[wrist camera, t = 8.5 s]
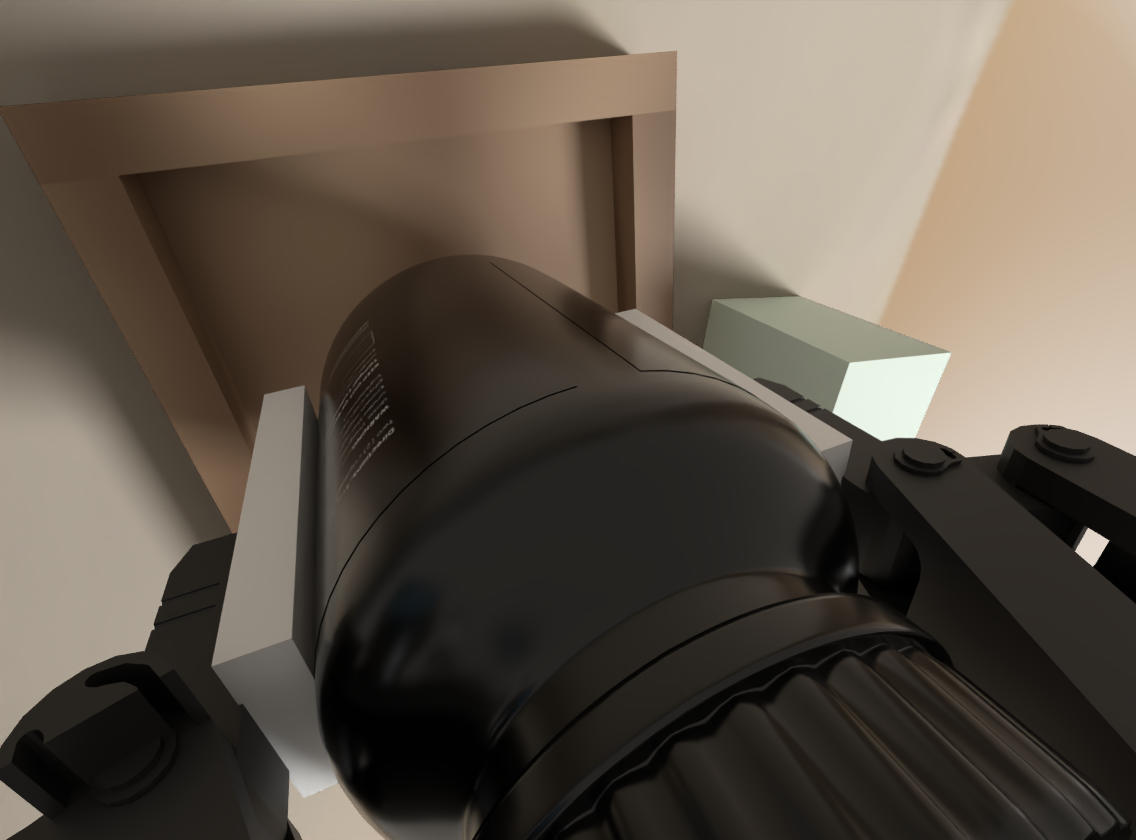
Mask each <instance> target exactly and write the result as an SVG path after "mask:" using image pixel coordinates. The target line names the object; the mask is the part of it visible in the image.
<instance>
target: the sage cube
mask: <svg viewBox="0 0 1136 840" xmlns="http://www.w3.org/2000/svg"><path fill="white" fill-rule="evenodd" d="M702 349H703V350H705V351H706V352H708V353H710V354H711V355H713V356H715V357H716V358H718V359H720V360H721V361H723V362H725V363H726V364H728V365H730V366H731V367H733V368H735V369H736V370H738V371H740V372H741V373H743V374H744V375H746V376H748V377H749V378H751V379H755V378H762V379H766V380H769V381H772V382H776V383H779V384H783V385H785V386H787V387H789V388H790V389H792V390H794V391H796V392H797V393H799V394H801V395H802V396H804V398H805V400H806V399H809V400H811V401H813V402H815V403H816V404H818V405H820V406H821V409H827V410H829V411H830V412H832V413H834V414H835V415H837V416H839V417H841V418H842V419H844V420H846V421H848V422H849V423H851V424H853V425H855V426H856V427H858V428H860V429H862V430H863V431H865V432H867V433H869V434H870V435H872V436H874V437H875V438H877V439H879V440H881V441H885V440H889V439H894V438H915V436H916V434H917V432H918V429H919V427H920V425H921V422H922V420H923V418H924V415H925V413H926V410H927V408H928V406H929V404H930V401H931V399H932V397H933V394H934V392H935V390H936V388H937V385H938V383H939V381H940V378H941V376H942V374H943V371H944V369H945V367H946V364H947V362H948V360H949V357H950V355H951V352H949V351H946V350H944V349H941V348H938V347H936V346H933V345H930V344H928V343H924V342H922V341H919V340H917V339H914V338H911V337H909V336H906V335H903V334H901V333H898V332H895V331H892V330H890V329H887V328H884V327H882V326H879V325H876V324H874V323H871V322H868V321H866V320H863V319H860V318H857V317H855V316H852V315H849V314H847V313H844V312H841V311H839V310H836V309H833V308H831V307H828V306H825V305H822V304H820V303H817V302H814V301H812V300H809V299H806V298H804V297H801V296H792V297H765V298H737V299H712V304H711V309H710V314H709V319H708V324H707V329H706V334H705V339H704V343H703V348H702Z"/></svg>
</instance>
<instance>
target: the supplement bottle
mask: <svg viewBox="0 0 1136 840" xmlns="http://www.w3.org/2000/svg"><path fill="white" fill-rule="evenodd" d="M858 581H859V549H858V541H857V535H856V530H855V524H854V521H853V517H852V514H851V511H850V508H849V505H848V502H847V499H846V496H845V494H844V491H843V489H842V487H841V485H840V483H839V481H838V479H837V477H836V475H835V473H834V471H833V470H832V468H831V466H830V464H829V462H828V461H827V459H826V458H825V456H824V455H823V454H822V452H821V451H820V450H819V448H818V447H817V446H816V444H815V443H814V442H813V441H812V440H811V439H810V437H809V436H808V435H807V434H806V433H804V432H803V431H802V430H801V429H800V428H799V427H798V426H797V425H796V424H795V423H794V422H792V421H791V420H790V419H788V418H787V417H785V416H784V415H783V414H781V413H780V412H778V411H777V410H776V409H774V408H773V407H771V406H770V405H769V404H767V403H765V402H764V401H762V400H761V399H759V398H758V397H757V396H755V395H754V394H752V393H751V392H749V391H747V390H746V389H744V388H742V387H740V386H739V385H737V384H735V383H734V382H732V381H730V380H728V379H727V378H725V377H723V376H722V375H720V374H718V373H716V372H715V371H713V370H711V369H710V368H708V367H706V366H704V365H703V364H701V363H699V362H697V361H696V360H694V359H692V358H691V357H689V356H687V355H685V354H684V353H682V352H680V351H679V350H677V349H675V348H673V347H672V346H670V345H668V344H666V343H665V342H663V341H661V340H660V339H658V338H656V337H654V336H653V335H651V334H649V333H648V332H646V331H644V330H642V329H641V328H639V327H637V326H635V325H634V324H632V323H630V322H629V321H627V320H625V319H623V318H622V317H620V316H618V315H617V314H615V313H613V312H611V311H610V310H608V309H606V308H605V307H603V306H601V305H599V304H598V303H596V302H594V301H592V300H591V299H589V298H587V297H586V296H584V295H582V294H580V293H579V292H577V291H575V290H574V289H572V288H570V287H568V286H567V285H565V284H563V283H561V282H560V281H558V280H556V279H554V278H552V277H550V276H548V275H546V274H544V273H542V272H540V271H539V270H537V269H535V268H532V267H530V266H527V265H525V264H522V263H520V262H516V261H513V260H509V259H506V258H501V257H495V256H490V255H476V254H471V255H455V256H447V257H442V258H437V259H433V260H429V261H426V262H423V263H420V264H417V265H415V266H412V267H410V268H408V269H406V270H404V271H401V272H399V273H398V274H396V275H394V276H393V277H391V278H389V279H388V280H386V281H384V282H383V283H382V284H380V285H379V286H378V287H376V288H375V289H374V290H372V291H371V292H370V293H369V294H368V295H367V296H366V297H365V298H364V299H363V300H361V301H360V303H359V304H358V305H357V306H356V307H355V308H354V309H353V311H352V312H351V313H350V314H349V316H348V317H347V318H346V320H345V321H344V323H343V324H342V326H341V327H340V329H339V331H338V333H337V334H336V336H335V338H334V340H333V342H332V345H331V347H330V350H329V352H328V355H327V359H326V362H325V366H324V369H323V373H322V379H321V385H320V400H319V416H318V466H317V519H316V572H315V627H314V678H315V695H316V708H317V718H318V728H319V732H320V736H321V740H322V744H323V747H324V751H325V754H326V757H327V760H328V762H329V764H330V767H331V769H332V771H333V773H334V775H335V777H336V779H337V781H338V783H339V785H340V787H341V788H342V790H343V791H344V793H345V794H346V795H347V797H348V798H349V800H350V801H351V803H352V804H353V805H354V807H355V808H356V810H357V811H358V812H359V813H360V815H361V816H362V817H363V818H364V819H365V820H366V822H367V823H368V824H369V825H371V826H372V827H373V828H374V829H375V830H376V831H377V832H378V833H379V834H380V835H381V836H382V837H383V838H384V839H385V840H1129V839H1130V837H1131V835H1132V830H1131V829H1130V826H1131V823H1132V821H1131V820H1130V818H1129V817H1128V816H1127V815H1126V814H1125V813H1124V812H1123V811H1122V810H1121V809H1120V808H1119V806H1118V805H1117V804H1116V803H1115V802H1114V801H1113V800H1112V799H1111V798H1110V797H1109V796H1108V795H1107V794H1106V793H1105V792H1104V791H1103V790H1102V789H1100V788H1099V787H1098V786H1097V785H1096V784H1095V783H1094V782H1093V781H1091V780H1090V779H1089V778H1088V777H1087V776H1086V775H1084V774H1083V773H1082V772H1081V771H1080V770H1078V769H1077V768H1076V767H1075V766H1074V765H1072V764H1071V763H1070V762H1069V761H1068V760H1066V759H1065V758H1064V757H1063V756H1062V755H1060V754H1059V753H1058V752H1057V751H1056V750H1054V749H1053V748H1052V747H1051V746H1050V745H1048V744H1047V743H1046V742H1045V741H1044V740H1042V739H1041V738H1040V737H1039V736H1038V735H1036V734H1035V733H1034V732H1033V731H1032V730H1030V729H1029V728H1028V727H1027V726H1026V725H1024V724H1023V723H1022V722H1021V721H1019V720H1018V719H1017V718H1016V717H1015V716H1013V715H1012V714H1011V713H1010V712H1009V711H1007V710H1006V709H1005V708H1004V707H1003V706H1001V705H1000V704H999V703H998V702H996V701H995V700H994V699H993V698H992V697H990V696H989V695H988V694H987V693H986V692H984V691H983V690H982V689H981V688H979V687H978V686H977V685H976V684H975V683H973V682H972V681H971V680H970V679H968V678H967V677H966V676H965V675H963V674H962V673H961V672H959V671H958V670H957V669H955V668H954V665H953V662H952V660H951V657H950V656H949V654H948V652H947V651H946V649H945V648H944V647H943V646H942V645H941V644H940V643H939V642H938V641H937V640H936V639H934V638H933V637H932V636H931V635H930V634H928V633H927V632H926V631H924V630H923V629H922V628H921V627H919V626H918V625H917V624H915V623H914V622H913V621H912V620H910V619H909V618H908V617H906V616H905V615H904V614H902V613H901V612H900V611H898V610H897V609H896V608H894V607H893V606H891V605H890V604H888V603H886V602H884V601H882V600H879V599H877V598H874V597H870V596H866V595H861V594H857V592H858Z"/></svg>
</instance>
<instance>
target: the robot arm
mask: <svg viewBox="0 0 1136 840" xmlns="http://www.w3.org/2000/svg"><path fill="white" fill-rule="evenodd" d="M615 314H617V315H618V316H620V317H622V318H623V319H625V320H627V321H629V322H630V323H632V324H634V325H635V326H637V327H639V328H641V329H642V330H644V331H646V332H648V333H649V334H651V335H653V336H654V337H656V338H658V339H660V340H661V341H663V342H665V343H666V344H668V345H670V346H672V347H673V348H675V349H677V350H679V351H680V352H682V353H684V354H685V355H687V356H689V357H691V358H692V359H694V360H696V361H697V362H699V363H701V364H703V365H704V366H706V367H708V368H710V369H711V370H713V371H715V372H716V373H718V374H720V375H722V376H723V377H725V378H727V379H728V380H730V381H732V382H734V383H735V384H737V385H739V386H740V387H742V388H744V389H746V390H747V391H749V392H751V393H752V394H754V395H755V396H757V397H758V398H759V399H761V400H762V401H764V402H765V403H767V404H769V405H770V406H771V407H773V408H774V409H776V410H777V411H778V412H780V413H781V414H783V415H784V416H785V417H787V418H788V419H790V420H791V421H792V422H794V423H795V424H796V425H797V426H798V427H799V428H800V429H801V430H802V431H803V432H804V433H806V434H807V435H808V436H809V437H810V439H811V440H812V441H813V442H814V443H815V444H816V446H817V447H818V448H819V450H820V451H821V452H822V454H823V455H824V456H825V458H826V459H827V461H828V462H829V464H830V466H831V468H832V470H833V471H834V473H835V475H836V477H837V479H838V481H839V483H840V485H841V487H842V489H843V491H844V494H845V496H846V499H847V502H848V505H849V508H850V511H851V514H852V517H853V521H854V524H855V530H856V535H857V541H858V549H859V581H858V592H857V594H861V595H866V596H870V597H874V598H877V599H879V600H882V601H884V602H886V603H888V604H890V605H891V606H893V607H894V608H896V609H897V610H898V611H900V612H901V613H902V614H904V615H905V616H906V617H908V618H909V619H910V620H912V621H913V622H914V623H915V624H917V625H918V626H919V627H921V628H922V629H923V630H924V631H926V632H927V633H928V634H930V635H931V636H932V637H933V638H934V639H936V640H937V641H938V642H939V643H940V644H941V645H942V646H943V647H944V648H945V649H946V651H947V652H948V654H949V656H950V657H951V660H952V662H953V665H954V668H955V669H957V670H958V671H959V672H961V673H962V674H963V675H965V676H966V677H967V678H968V679H970V680H971V681H972V682H973V683H975V684H976V685H977V686H978V687H979V688H981V689H982V690H983V691H984V692H986V693H987V694H988V695H989V696H990V697H992V698H993V699H994V700H995V701H996V702H998V703H999V704H1000V705H1001V706H1003V707H1004V708H1005V709H1006V710H1007V711H1009V712H1010V713H1011V714H1012V715H1013V716H1015V717H1016V718H1017V719H1018V720H1019V721H1021V722H1022V723H1023V724H1024V725H1026V726H1027V727H1028V728H1029V729H1030V730H1032V731H1033V732H1034V733H1035V734H1036V735H1038V736H1039V737H1040V738H1041V739H1042V740H1044V741H1045V742H1046V743H1047V744H1048V745H1050V746H1051V747H1052V748H1053V749H1054V750H1056V751H1057V752H1058V753H1059V754H1060V755H1062V756H1063V757H1064V758H1065V759H1066V760H1068V761H1069V762H1070V763H1071V764H1072V765H1074V766H1075V767H1076V768H1077V769H1078V770H1080V771H1081V772H1082V773H1083V774H1084V775H1086V776H1087V777H1088V778H1089V779H1090V780H1091V781H1093V782H1094V783H1095V784H1096V785H1097V786H1098V787H1099V788H1100V789H1102V790H1103V791H1104V792H1105V793H1106V794H1107V795H1108V796H1109V797H1110V798H1111V799H1112V800H1113V801H1114V802H1115V803H1116V804H1117V805H1118V806H1119V808H1120V809H1121V810H1122V811H1123V812H1124V813H1125V814H1126V815H1127V816H1128V817H1129V818H1130V820H1131V821H1132V823H1131V826H1130V829H1131V830H1132V835H1131V837H1130V839H1129V840H1136V456H1134V455H1132V454H1130V453H1127V452H1125V451H1123V450H1121V449H1119V448H1117V447H1114V446H1112V445H1110V444H1108V443H1106V442H1104V441H1102V440H1099V439H1097V438H1095V437H1092V436H1089V435H1087V434H1084V433H1081V432H1079V431H1075V430H1070V429H1066V428H1065V427H1062V426H1056V425H1050V426H1048V425H1028V426H1020V427H1018V428H1016V429H1014V430H1012V431H1010V434H1009V436H1008V439H1007V441H1006V444H1005V446H1004V449H1003V451H1002V454H1001V455H990V456H979V457H968V458H965V457H964V456H962V455H961V454H959V453H958V452H956V451H955V450H953V449H951V448H949V447H946V446H944V445H941V444H938V443H936V442H932V441H927V440H922V439H917V438H894V439H889V440H885V441H881V440H879V439H877V438H875V437H874V436H872V435H870V434H869V433H867V432H865V431H863V430H862V429H860V428H858V427H856V426H855V425H853V424H851V423H849V422H848V421H846V420H844V419H842V418H841V417H839V416H837V415H835V414H834V413H832V412H830V411H829V410H827V409H821V406H820V405H818V404H816V403H815V402H813V401H811V400H809V399H806V400H805V398H804V396H802V395H801V394H799V393H797V392H796V391H794V390H792V389H790V388H789V387H787V386H785V385H783V384H779V383H776V382H772V381H769V380H766V379H762V378H755V379H751V378H749V377H748V376H746V375H744V374H743V373H741V372H740V371H738V370H736V369H735V368H733V367H731V366H730V365H728V364H726V363H725V362H723V361H721V360H720V359H718V358H716V357H715V356H713V355H711V354H710V353H708V352H706V351H705V350H703V349H701V348H700V347H698V346H697V345H695V344H693V343H692V342H690V341H688V340H687V339H685V338H683V337H682V336H680V335H678V334H677V333H675V332H673V331H672V330H670V329H668V328H667V327H665V326H663V325H662V324H660V323H659V322H657V321H655V320H654V319H652V318H650V317H649V316H647V315H645V314H644V313H642V312H640V311H639V310H637V309H632V310H628V311H623V312H619V313H615ZM317 466H318V419H317V416H316V413H315V411H314V408H313V406H312V403H311V400H310V398H309V395H308V393H307V390H306V387H305V385H304V386H299V387H295V388H291V389H286V390H282V391H278V392H273V393H269V394H265V395H264V399H263V404H262V409H261V414H260V419H259V424H258V430H257V435H256V440H255V445H254V450H253V455H252V460H251V466H250V471H249V476H248V481H247V486H246V491H245V496H244V501H243V507H242V512H241V517H240V522H239V527H238V532H237V533H233V534H230V535H227V536H223V537H220V538H216V539H213V540H210V541H206V542H203V543H199V544H196V545H193V546H192V547H191V548H190V550H189V551H188V552H187V553H186V555H185V556H184V557H183V558H182V559H181V561H180V562H179V563H178V564H177V565H176V567H175V568H174V569H173V570H172V572H171V573H170V575H169V578H168V581H167V585H166V588H165V591H164V594H163V597H162V600H161V601H162V606H159V609H158V612H157V615H156V618H155V621H154V627H155V630H152V631H151V634H150V637H149V640H148V643H147V646H146V649H145V651H142V652H136V653H130V654H125V655H119V656H115V657H113V658H110V659H108V660H105V661H103V662H101V663H98V664H96V665H94V666H91V667H89V668H87V669H84V670H83V671H81V672H80V673H78V674H77V675H75V676H73V677H72V678H70V679H69V680H67V681H66V682H64V683H63V684H61V685H60V686H58V687H56V688H55V689H53V690H52V691H51V692H50V693H49V694H47V695H46V696H45V697H44V698H43V699H42V700H41V701H40V702H39V703H38V704H36V705H35V706H34V707H33V708H32V709H31V710H30V711H29V712H28V713H26V714H25V715H24V716H23V717H22V719H21V720H20V721H19V723H18V724H17V725H16V727H15V728H14V729H13V731H12V732H11V733H10V735H9V736H8V737H7V739H6V740H5V742H4V743H3V744H2V746H1V748H0V780H1V781H2V782H3V783H5V784H6V785H7V786H8V787H10V788H11V789H12V790H13V791H15V792H16V793H17V794H18V795H20V796H21V797H22V798H23V799H25V800H26V801H27V802H29V803H30V804H31V805H32V806H34V807H35V808H36V809H37V810H39V811H40V812H41V813H42V814H44V815H43V816H41V817H40V818H39V819H37V820H36V821H34V822H33V823H32V824H30V825H29V826H27V827H26V828H24V829H22V830H21V831H19V832H18V833H16V834H15V835H13V836H11V837H10V838H8V839H7V840H302V839H301V836H300V834H299V832H298V831H297V830H296V828H295V827H294V826H293V824H292V823H291V822H290V820H289V819H288V818H287V817H288V795H289V778H290V780H291V781H292V782H293V784H294V785H295V787H296V788H297V790H298V791H299V792H300V794H301V795H302V797H303V798H306V797H308V796H310V795H313V794H315V793H317V792H319V791H322V790H324V789H326V788H329V787H331V786H333V785H336V784H338V781H337V779H336V777H335V775H334V773H333V771H332V769H331V767H330V764H329V762H328V760H327V757H326V754H325V751H324V747H323V744H322V740H321V736H320V732H319V728H318V718H317V708H316V695H315V678H314V627H315V572H316V519H317ZM1088 528H1090V529H1091V530H1093V531H1095V532H1097V533H1098V534H1100V535H1101V536H1103V537H1105V538H1106V539H1108V540H1110V541H1109V542H1108V544H1107V546H1106V547H1105V549H1104V551H1103V552H1102V554H1101V556H1100V557H1099V559H1098V561H1097V563H1096V564H1095V565H1094V566H1093V567H1092V566H1091V565H1090V564H1089V563H1088V562H1086V561H1085V560H1084V559H1083V558H1082V557H1080V556H1079V555H1078V554H1077V553H1076V552H1075V550H1076V548H1077V546H1078V545H1079V543H1080V541H1081V539H1082V538H1083V535H1084V534H1085V532H1086V530H1087V529H1088Z"/></svg>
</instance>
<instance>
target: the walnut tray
mask: <svg viewBox="0 0 1136 840" xmlns="http://www.w3.org/2000/svg"><path fill="white" fill-rule="evenodd" d="M676 77H677V51H669V52H657V53H645V54H633V55H621V56H609V57H596V58H584V59H572V60H560V61H548V62H535V63H523V64H511V65H499V66H487V67H475V68H462V69H450V70H438V71H426V72H414V73H401V74H389V75H377V76H365V77H353V78H341V79H328V80H316V81H304V82H292V83H280V84H267V85H255V86H243V87H231V88H219V89H207V90H194V91H182V92H170V93H158V94H146V95H133V96H121V97H109V98H97V99H85V100H73V101H60V102H48V103H36V104H24V105H12V106H0V114H1V116H2V117H3V119H4V121H5V123H6V125H7V126H8V128H9V130H10V132H11V134H12V135H13V137H14V139H15V141H16V143H17V144H18V146H19V148H20V150H21V152H22V154H23V155H24V157H25V159H26V161H27V163H28V164H29V166H30V168H31V170H32V172H33V173H34V175H35V177H36V179H37V181H38V183H39V184H40V186H41V188H42V190H43V192H44V193H45V195H46V197H47V199H48V201H49V202H50V204H51V206H52V208H53V210H54V211H55V213H56V215H57V217H58V219H59V221H60V222H61V224H62V226H63V228H64V230H65V231H66V233H67V235H68V237H69V239H70V240H71V242H72V244H73V246H74V248H75V250H76V251H77V253H78V255H79V257H80V259H81V260H82V262H83V264H84V266H85V268H86V269H87V271H88V273H89V275H90V277H91V278H92V280H93V282H94V284H95V286H96V288H97V289H98V291H99V293H100V295H101V297H102V298H103V300H104V302H105V304H106V306H107V307H108V309H109V311H110V313H111V315H112V317H113V318H114V320H115V322H116V324H117V326H118V327H119V329H120V331H121V333H122V335H123V336H124V338H125V340H126V342H127V344H128V345H129V347H130V349H131V351H132V353H133V355H134V356H135V358H136V360H137V362H138V364H139V365H140V367H141V369H142V371H143V373H144V374H145V376H146V378H147V380H148V382H149V384H150V385H151V387H152V389H153V391H154V393H155V394H156V396H157V398H158V400H159V402H160V403H161V405H162V407H163V409H164V411H165V412H166V414H167V416H168V418H169V420H170V422H171V423H172V425H173V427H174V429H175V431H176V432H177V434H178V436H179V438H180V440H181V441H182V443H183V445H184V447H185V449H186V451H187V452H188V454H189V456H190V458H191V460H192V461H193V463H194V465H195V467H196V469H197V470H198V472H199V474H200V476H201V478H202V479H203V481H204V483H205V485H206V487H207V489H208V490H209V492H210V494H211V496H212V498H213V499H214V501H215V503H216V505H217V507H218V508H219V510H220V512H221V514H222V516H223V518H224V519H225V521H226V523H227V525H228V527H229V528H230V530H231V532H232V534H233V533H237V532H238V527H239V522H240V517H241V512H242V507H243V501H244V496H245V491H246V486H247V481H248V476H249V471H250V466H251V460H252V455H253V450H254V445H255V440H256V435H257V430H258V424H259V419H260V414H261V409H262V404H263V399H264V395H265V394H269V393H273V392H278V391H282V390H286V389H291V388H295V387H299V386H304V385H305V387H306V390H307V393H308V395H309V398H310V400H311V403H312V406H313V408H314V411H315V413H316V416H317V419H318V416H319V400H320V385H321V379H322V373H323V369H324V366H325V362H326V359H327V355H328V352H329V350H330V347H331V345H332V342H333V340H334V338H335V336H336V334H337V333H338V331H339V329H340V327H341V326H342V324H343V323H344V321H345V320H346V318H347V317H348V316H349V314H350V313H351V312H352V311H353V309H354V308H355V307H356V306H357V305H358V304H359V303H360V301H361V300H363V299H364V298H365V297H366V296H367V295H368V294H369V293H370V292H371V291H372V290H374V289H375V288H376V287H378V286H379V285H380V284H382V283H383V282H384V281H386V280H388V279H389V278H391V277H393V276H394V275H396V274H398V273H399V272H401V271H404V270H406V269H408V268H410V267H412V266H415V265H417V264H420V263H423V262H426V261H429V260H433V259H437V258H442V257H447V256H455V255H471V254H476V255H490V256H495V257H501V258H506V259H509V260H513V261H516V262H520V263H522V264H525V265H527V266H530V267H532V268H535V269H537V270H539V271H540V272H542V273H544V274H546V275H548V276H550V277H552V278H554V279H556V280H558V281H560V282H561V283H563V284H565V285H567V286H568V287H570V288H572V289H574V290H575V291H577V292H579V293H580V294H582V295H584V296H586V297H587V298H589V299H591V300H592V301H594V302H596V303H598V304H599V305H601V306H603V307H605V308H606V309H608V310H610V311H611V312H613V313H619V312H623V311H628V310H632V309H637V310H639V311H640V312H642V313H644V314H645V315H647V316H649V317H650V318H652V319H654V320H655V321H657V322H659V323H660V324H662V325H663V326H665V327H667V328H668V329H670V330H672V320H673V260H674V199H675V138H676Z"/></svg>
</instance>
